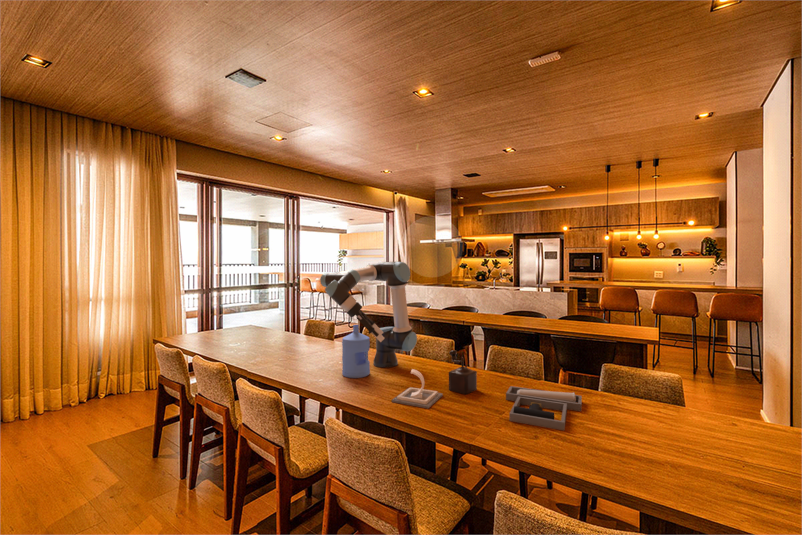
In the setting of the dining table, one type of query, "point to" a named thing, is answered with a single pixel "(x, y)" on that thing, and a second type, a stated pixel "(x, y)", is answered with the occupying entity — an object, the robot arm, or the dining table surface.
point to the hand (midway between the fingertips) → (382, 337)
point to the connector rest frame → (538, 420)
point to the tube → (549, 395)
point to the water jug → (355, 354)
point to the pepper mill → (462, 377)
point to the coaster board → (424, 402)
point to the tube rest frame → (570, 405)
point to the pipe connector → (534, 411)
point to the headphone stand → (419, 393)
